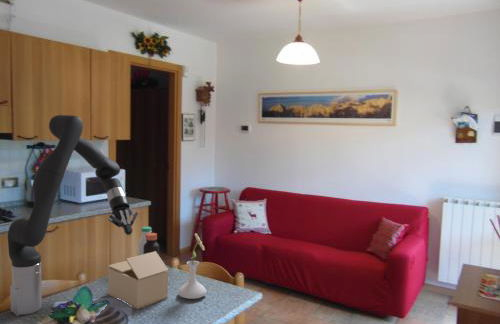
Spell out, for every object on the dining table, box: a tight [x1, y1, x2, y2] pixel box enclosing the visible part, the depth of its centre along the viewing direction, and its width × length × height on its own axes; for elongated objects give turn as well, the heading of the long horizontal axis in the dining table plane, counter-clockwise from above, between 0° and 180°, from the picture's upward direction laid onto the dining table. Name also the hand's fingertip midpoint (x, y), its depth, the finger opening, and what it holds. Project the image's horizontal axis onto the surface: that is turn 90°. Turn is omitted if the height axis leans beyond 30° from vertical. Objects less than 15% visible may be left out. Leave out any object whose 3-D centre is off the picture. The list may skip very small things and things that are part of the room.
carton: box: [107, 267, 169, 311], centre depth 160 cm, size 14×20×11 cm
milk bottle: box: [137, 226, 152, 256], centre depth 192 cm, size 8×8×20 cm
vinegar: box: [143, 232, 160, 256], centre depth 180 cm, size 7×7×20 cm
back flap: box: [107, 260, 132, 273], centre depth 163 cm, size 14×10×1 cm
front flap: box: [125, 251, 169, 280], centre depth 155 cm, size 14×10×1 cm
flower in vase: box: [177, 233, 207, 300], centre depth 162 cm, size 13×11×25 cm
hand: (129, 233), depth 166 cm, fingers closed
